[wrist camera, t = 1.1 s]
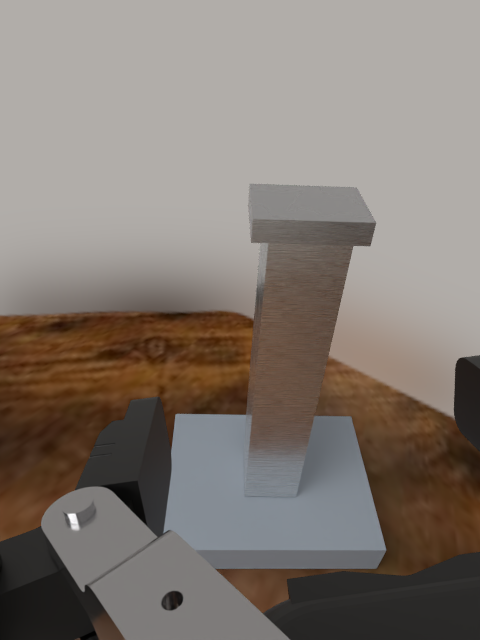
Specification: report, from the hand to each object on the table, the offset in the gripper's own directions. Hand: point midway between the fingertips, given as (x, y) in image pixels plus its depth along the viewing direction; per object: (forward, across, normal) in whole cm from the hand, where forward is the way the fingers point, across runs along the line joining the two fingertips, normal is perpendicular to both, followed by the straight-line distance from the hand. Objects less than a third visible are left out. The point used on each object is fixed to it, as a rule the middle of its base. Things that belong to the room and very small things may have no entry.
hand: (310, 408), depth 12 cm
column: (+20, 0, +17) cm, 26 cm away
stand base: (+21, +1, +20) cm, 29 cm away
